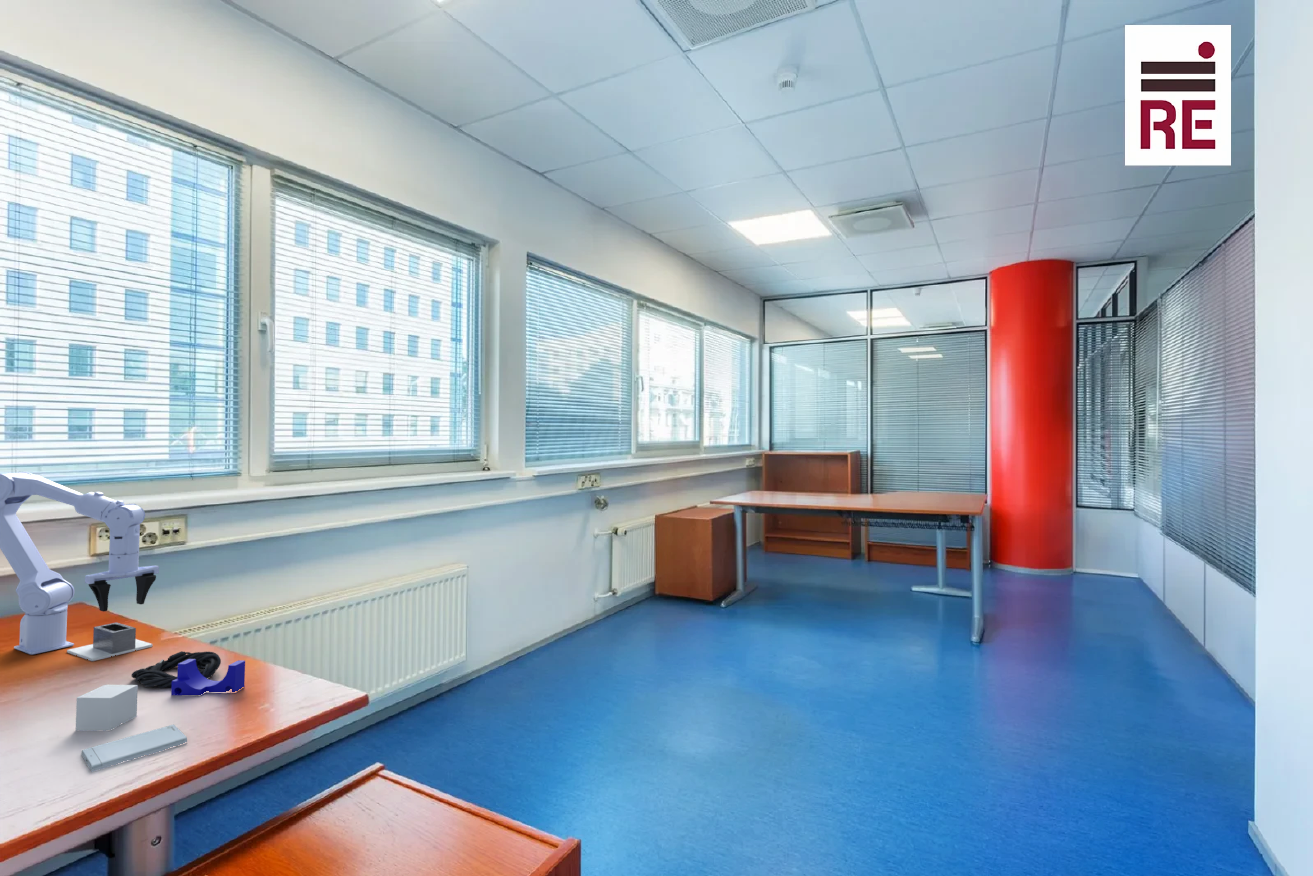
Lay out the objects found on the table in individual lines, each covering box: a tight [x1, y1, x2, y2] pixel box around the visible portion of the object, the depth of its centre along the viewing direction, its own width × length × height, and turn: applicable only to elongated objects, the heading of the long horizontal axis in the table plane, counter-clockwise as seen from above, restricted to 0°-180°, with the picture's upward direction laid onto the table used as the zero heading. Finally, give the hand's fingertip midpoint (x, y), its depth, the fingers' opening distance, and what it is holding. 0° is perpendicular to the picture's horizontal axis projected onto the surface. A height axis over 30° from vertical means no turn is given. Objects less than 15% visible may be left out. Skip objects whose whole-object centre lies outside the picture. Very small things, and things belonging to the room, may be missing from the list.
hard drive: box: [81, 724, 188, 773], centre depth 105 cm, size 2×8×12 cm
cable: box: [131, 651, 222, 689], centre depth 136 cm, size 17×14×4 cm
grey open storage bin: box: [92, 622, 137, 654], centre depth 151 cm, size 9×5×5 cm, turn 64°
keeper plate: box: [66, 638, 153, 662], centre depth 152 cm, size 12×12×4 cm
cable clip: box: [170, 659, 246, 696], centre depth 129 cm, size 12×4×6 cm, turn 90°
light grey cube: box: [75, 684, 139, 732], centre depth 114 cm, size 6×6×6 cm
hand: (122, 607), depth 155 cm, fingers open, 7 cm apart
